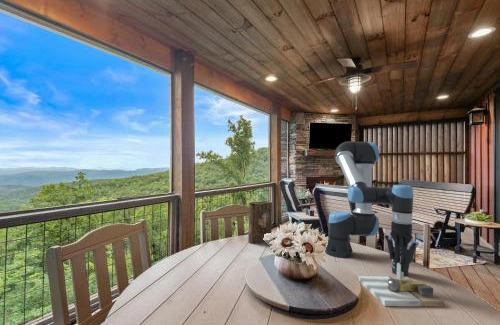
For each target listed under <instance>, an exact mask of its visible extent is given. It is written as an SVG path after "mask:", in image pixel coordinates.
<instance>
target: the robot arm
mask: <svg viewBox="0 0 500 325" xmlns="http://www.w3.org/2000/svg"><path fill="white" fill-rule="evenodd" d="M379 157H380V150H379V147H378V145H377V144H376V143H375V142H371V141H349V140H348V141H344V142H342V143H340V144H339V145H338V146H337V147H336V149H335V150H334V160H335V162H336V163H337V165H339V166H340V169H341V172H342V173H343V175H344V178H345V180H346V183H347V185H348V189H347V200H348V201H349V203H352V204H355V208H354V210H352V214H351V212H349V211H343V210H342V211H335V212H331V213H330V214H329V216H328V232H327V233H328V238H327V241H328V245H327V247H326V250H325V249H324V252H325V253H326V254H327V255H329V256H331V257H337V258H351V257H352V256H353V253H354V252H353V247H352V243H351V239H350V238H351V236H356V237H357V236H361V237H374V236H376V234H378V232H379V228H380V221H379V220H380V219H379V218H378V216H377V215H376V213H375V211H373V206H372V205H375V204H376V205H390V206H391V220H392V221H391V222H390V229H391V231H390V232H389V234H386V235H385V236H384V238H385V241H386V242H387V248H388V253H389V259H393V260H394V261H395V269H396V270H397V275H396V276H395V277H396V278H397V279H399V280H401V279H403V277H405V276H404V272H405V271H406V264H409V265H410V264H412V262H413V258H414V256H415V253H416V252H415V251H416V248H417V247H418V246H419V244H420V243H419V242H417V241H415V240H414V239H413V238H414V237H413V235H412V234H413V224H412V223H413V208H414V207H413V206H414V188H413V187H412V185H407V184H405V185H404V184H402V185H401V184H394V185H392V187H391V186H383V187H382V186H381V187H377V186H376V187H375V186H374V187H373V167H375V164H376V162H378V161H379ZM392 239H393V240H394V245H393V240H392ZM409 243H410V245H411V246H410V248H409V252H408V255H407V247H408V244H409ZM394 246H395V250H394ZM400 252H401V260H400ZM400 261H401V262H400Z"/></svg>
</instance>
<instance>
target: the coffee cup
mask: <svg viewBox="0 0 500 325" xmlns="http://www.w3.org/2000/svg"><path fill="white" fill-rule="evenodd" d="M392 240H393V238H392ZM410 243H411V242H410ZM410 243H409V244H408V247H407V255H408V252H409V248H410V246H411V245H410ZM393 245H394V240H393ZM394 250H395V246H394ZM390 259H391V258H390ZM400 260H401V252H400ZM400 262H401V261H400ZM409 268H410V264H406V271H405V272H404V277H408V276H409V270H410V269H409ZM391 272H392V274H394V275H396V276H397V270H396V269H395V261H394V260H393V259H391Z"/></svg>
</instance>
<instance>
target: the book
mask: <svg viewBox="0 0 500 325" xmlns="http://www.w3.org/2000/svg"><path fill="white" fill-rule="evenodd" d="M248 203H249V204H248V206H249V207H248V208H249V211H248V214H249V215H248V236H247V238H248V239H247V241H248V243H249V244H252V245H256V244H260V243H264V242H265V241H264V240H263V238H264V234H266V233H271V232H272V228H273V227H272V225H273V202H272V201H269V202H268V201H266V200H265V201H254V202H248ZM271 234H272V233H271Z"/></svg>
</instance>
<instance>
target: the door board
mask: <svg viewBox="0 0 500 325" xmlns="http://www.w3.org/2000/svg"><path fill="white" fill-rule="evenodd" d="M388 279H395V280H398V281H414V280H413V279H412V278H410V276H409V277H408V276H404V277H403V279H401V280H399V279H397V278H396V276H377V275H376V276H375V275H373V276H371V275H370V276H369V275H368V276H366V275H364V276H363V275H362V276H359V275H358V282H359V283H360V284H361V285H362V286H363V287H364V288H366V290H367V291H368V292H370V294H372V296H374V297H375V298H376V299H377V300H378V301H379V302H380V303H381V304H382V305H383V306H384V307H445V306H444V304H445V301H444V300H443V299H442V298H440V297H439V296H437V295H436V294H434V287H432V286H431V285H427V286H418V291H399V292H394V291H391V290H389V289H388Z"/></svg>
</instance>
